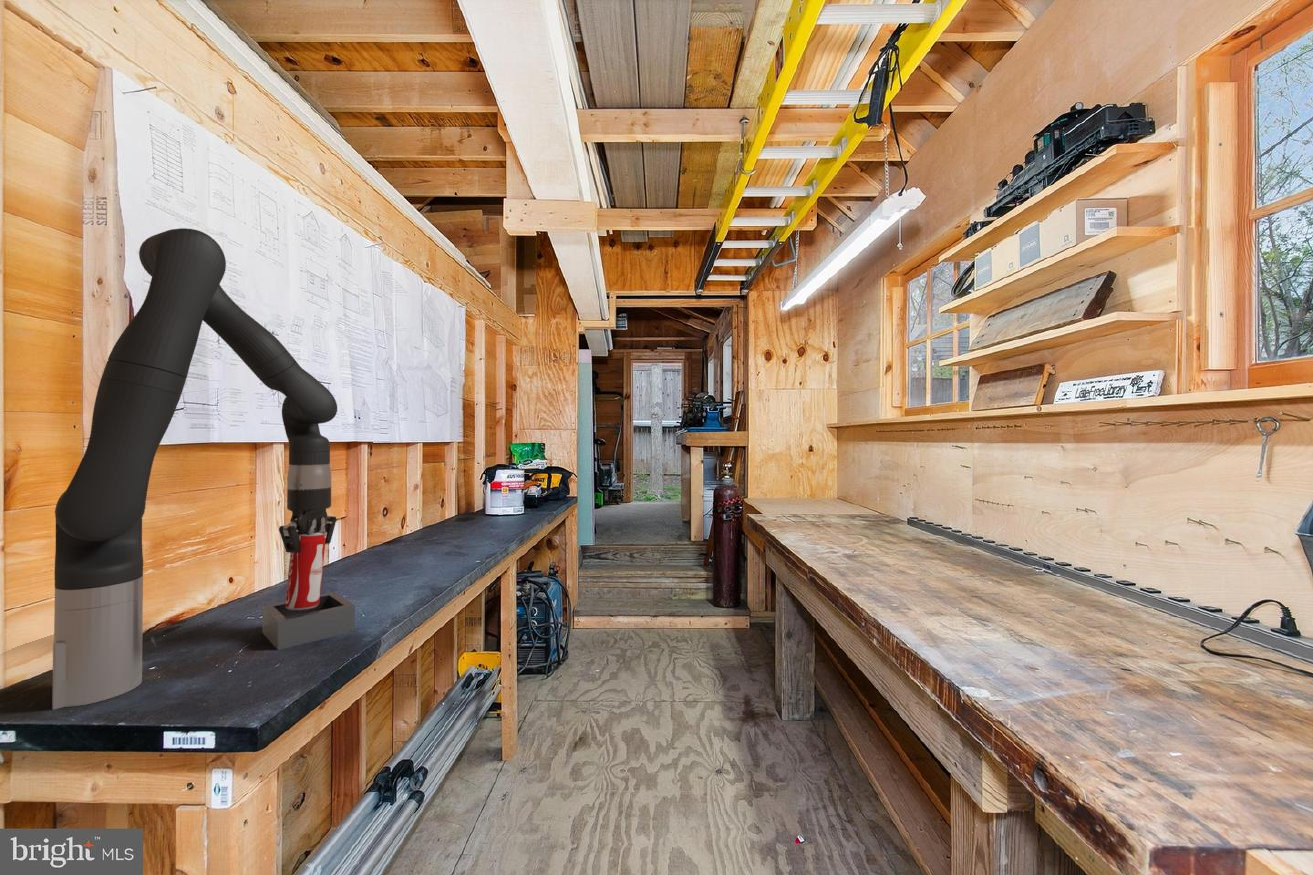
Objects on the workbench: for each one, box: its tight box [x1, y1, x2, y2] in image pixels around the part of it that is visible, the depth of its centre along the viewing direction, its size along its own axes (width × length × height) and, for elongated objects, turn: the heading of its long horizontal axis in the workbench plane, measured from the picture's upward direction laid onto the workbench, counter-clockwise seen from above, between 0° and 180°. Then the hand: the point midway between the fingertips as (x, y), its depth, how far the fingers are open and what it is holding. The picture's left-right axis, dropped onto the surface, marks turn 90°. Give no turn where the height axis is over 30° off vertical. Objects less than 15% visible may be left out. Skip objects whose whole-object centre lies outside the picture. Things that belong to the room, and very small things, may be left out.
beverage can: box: [284, 532, 326, 610], centre depth 102 cm, size 6×6×15 cm
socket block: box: [261, 591, 356, 651], centre depth 104 cm, size 13×13×6 cm
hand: (309, 568), depth 104 cm, fingers closed on beverage can, 3 cm apart
